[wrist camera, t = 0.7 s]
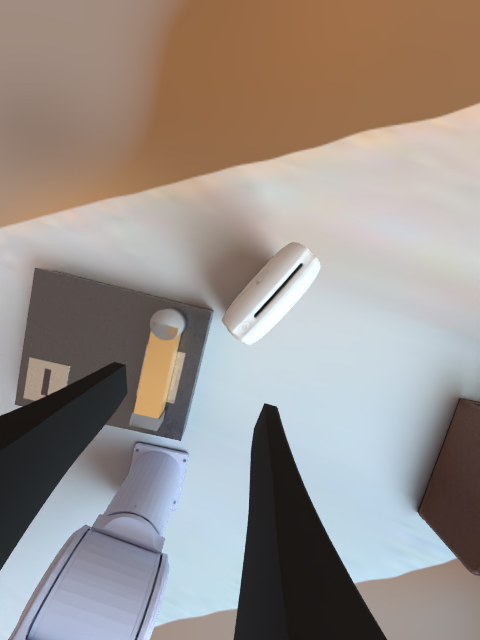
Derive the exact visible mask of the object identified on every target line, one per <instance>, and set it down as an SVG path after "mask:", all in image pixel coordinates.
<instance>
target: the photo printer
mask: <svg viewBox="0 0 480 640" xmlns="http://www.w3.org/2000/svg"><path fill="white" fill-rule="evenodd" d="M319 270H320V262H319V260H318V258H317V257H316V256H314V255H313V254H312V253H311V252H310V251H309V249H308V248H307V247H306V246H304V245H301V244H299V243H295V242H292V243H290V244H288V245H287V246H285V247H284V248H282V249H281V250H280V251H279V252H278V253H277V254H276V255H275V256H273V257H272V259H271V260H270V261H269V262H268V263H267V264H266V265H265V266H264V267H263V268H262V269H261V270H260V271H259V272H258V273H257V275H256V276H255V277H254V278H253V279H252V280H251V281H250V282H249V283H248V285H247V286H246V287H245V288H244V289H243V290H242V292H241V293H240V294H239V295H238V296H237V297H236V299H235V300H234V301H233V302H232V304H231V305H230V307H229V308H228V309H227V311H226V313H225V314H224V316H223V318H222V321H223V323H224V325H225V326H226V327H227V329H228V331H229V332H230V333H231V334H232V335H233V336H234V337H235V338H237V339H238V340H240V341H243V342H244V343H246V344H248V345H251V344H253V343H255V342H256V341H258V340H259V339H260V338H262V337H263V336H264V335H265V334H266V333H267V332H268V331H269V330H270V329H271V328H272V327H273V326H274V325H275V324H276V323H277V322H278V321H279V320H280V319H281V318H282V317H283V316H284V315H285V314H286V313H287V312H288V311H289V310H290V309H291V308H292V307H293V305H294V304H295V303H296V302H297V301H298V300H299V299H300V297H301V296H302V295H303V294H304V293H305V291H306V290H307V289H308V288H309V286H310V285H311V284H312V282H313V281H314V279H315V278H316V276H317V274H318V272H319Z"/></svg>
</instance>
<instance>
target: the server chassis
mask: <svg viewBox="0 0 480 640" xmlns="http://www.w3.org/2000/svg"><path fill="white" fill-rule="evenodd" d="M170 308H171V309H176V310H178V311H180V312H181V313H182V314H183V315H184V317H185V320H186V326H185V329H184V331H183V332H182V333H181V337H180V342H179V346H178V351H177V355H176V359H175V364H174V368H173V373H172V377H171V381H170V386H169V390H168V395H167V399H166V404H165V408H164V410H166V411H165V415H164V419H163V422H162V424H161V426H160V427H159V429H158V431H154V430H149V429H145V428H140V427H136V426H131V425H129V424H130V419H131V415H132V412H133V411H134V409H135V404H136V399H137V394H138V390H139V385H140V380H141V375H142V371H143V366H144V361H145V356H146V352H147V347H148V342H149V337H150V333H151V329H150V320H151V318H152V316H153V315H154V314H155V313H156V312H157V311H159V310H163V309H170ZM213 312H214V311H212V310H208V309H204V308H200V307H196V306H192V305H188V304H184V303H180V302H176V301H172V300H168V299H164V298H160V297H156V296H152V295H148V294H144V293H140V292H136V291H132V290H128V289H124V288H120V287H116V286H112V285H108V284H104V283H100V282H96V281H92V280H88V279H84V278H80V277H76V276H72V275H68V274H64V273H60V272H56V271H51V270H45V269H38V268H35V271H34V278H33V285H32V292H31V299H30V305H29V312H28V319H27V326H26V333H25V339H24V346H23V353H22V360H21V367H20V373H19V380H18V387H17V394H16V401H15V405H19V406H25V405H28V404H30V403H32V402H34V401H36V400H38V399H41V398H43V397H45V396H47V395H49V394H51V393H53V392H56V391H58V390H60V389H62V388H64V387H66V386H68V385H70V384H72V383H74V382H76V381H78V380H80V379H82V378H84V377H86V376H88V375H90V374H91V373H93V372H95V371H97V370H99V369H101V368H103V367H105V366H107V365H109V364H111V363H113V362H117V363H121V364H124V365H126V376H127V392H128V393H127V395H126V396H125V398H124V400H123V401H122V403H121V404H120V406H119V407H118V409H117V410H116V412H115V413H114V414H113V415H112V417H111V418H110V419H109V420H108V422H107V423H106V425H111V426H115V427H120V428H124V429H129V430H133V431H138V432H143V433H147V434H152V435H156V436H161V437H165V438H170V439H175V440H179V441H181V439H182V436H183V434H184V431H185V428H186V424H187V420H188V416H189V412H190V407H191V403H192V399H193V395H194V391H195V387H196V382H197V378H198V374H199V370H200V366H201V362H202V357H203V353H204V349H205V345H206V341H207V337H208V333H209V328H210V324H211V320H212V316H213Z"/></svg>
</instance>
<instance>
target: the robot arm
mask: <svg viewBox="0 0 480 640" xmlns="http://www.w3.org/2000/svg"><path fill="white" fill-rule="evenodd" d="M127 393H128V392H127V376H126V365H124V364H121V363H117V362H113V363H111V364H109V365H107V366H105V367H103V368H101V369H99V370H97V371H95V372H93V373H91V374H90V375H88V376H86V377H84V378H82V379H80V380H78V381H76V382H74V383H72V384H70V385H68V386H66V387H64V388H62V389H60V390H58V391H56V392H53V393H51V394H49V395H47V396H45V397H43V398H41V399H38V400H36V401H34V402H32V403H30V404H28V405H25V406H23V407H21V408H18V409H16V410H14V411H11V412H9V413H6V414H4V415H1V416H0V570H1V569H2V567H3V565H4V564H5V562H6V561H7V559H8V557H9V556H10V554H11V553H12V551H13V550H14V548H15V547H16V545H17V544H18V542H19V540H20V539H21V537H22V536H23V534H24V533H25V531H26V530H27V528H28V527H29V525H30V524H31V522H32V521H33V519H34V518H35V516H36V515H37V513H38V512H39V510H40V509H41V507H42V506H43V505H44V503H45V502H46V500H47V499H48V497H49V496H50V494H51V493H52V491H53V490H54V489H55V487H56V486H57V484H58V483H59V482H60V480H61V479H62V477H63V476H64V475H65V473H66V472H67V470H68V469H69V468H70V466H71V465H72V464H73V463H74V461H75V460H76V459H77V458H78V456H79V455H80V454H81V453H82V452H83V450H84V449H85V448H86V447H87V446H88V444H89V443H90V442H91V441H92V440H93V438H94V437H95V436H96V435H97V434H98V432H99V431H100V430H101V429H102V428H103V426H104V425H105V424H106V423H107V422H108V420H109V419H110V418H111V417H112V415H113V414H114V413H115V412H116V410H117V409H118V407H119V406H120V404H121V403H122V401H123V400H124V398H125V396H126V395H127ZM137 449H138V450H137ZM188 458H189V454H188V453H185V452H180V451H175V450H171V449H166V448H161V447H157V446H152V445H148V444H143V443H137V444H136V445H135V447H134V452H133V456H132V461H131V466H130V470H129V473H128V475H127V477H126V478H125V480H124V482H123V483H122V485H121V486H120V488H119V490H118V491H117V493H116V495H115V496H114V498H113V499H112V501H111V503H110V504H109V506H108V508H107V509H106V511H105V512H104V514H103V515H99V516H98V518H97V519H96V521H95V523H94V524H93V526H92V527H89V526H88V525H84V526H83V527H82V528H80V529H79V530H77V531H75V532H74V533H73V534H72V535H71V536H70V538H69V539H68V540H67V541H66V543H65V544H64V545H63V547H62V548H61V550H60V551H59V553H58V554H57V556H56V557H55V559H54V560H53V562H52V563H51V565H50V566H49V568H48V569H47V571H46V572H45V574H44V576H43V577H42V579H41V581H40V582H39V584H38V586H37V587H36V589H35V591H34V592H33V594H32V596H31V598H30V599H29V601H28V603H27V605H26V607H25V609H24V611H23V613H22V615H21V617H20V619H19V622H18V624H17V626H16V627H15V629H14V631H13V633H12V634H11V636H10V638H9V639H8V640H150V637H151V634H152V631H153V628H154V625H155V622H156V619H157V616H158V612H159V609H160V606H161V602H162V599H163V595H164V591H165V587H166V583H167V578H168V573H169V563H168V556H167V554H163V553H162V554H161V552H162V548H163V545H164V542H165V538H163V534H164V531H165V528H166V525H167V521H168V518H169V515H170V512H171V511H174V510H176V507H177V503H178V499H179V495H180V491H181V487H182V483H183V479H184V475H185V471H186V467H187V462H188ZM184 459H185V460H184ZM90 528H91V529H90ZM234 640H387V639H386V637H385V635H384V634H383V632H382V631H381V629H380V627H379V625H378V624H377V622H376V620H375V619H374V617H373V615H372V614H371V612H370V610H369V609H368V607H367V605H366V603H365V602H364V600H363V598H362V596H361V595H360V593H359V591H358V590H357V588H356V586H355V584H354V583H353V581H352V579H351V577H350V575H349V574H348V572H347V570H346V568H345V566H344V564H343V562H342V561H341V559H340V557H339V555H338V553H337V551H336V550H335V548H334V546H333V544H332V542H331V540H330V538H329V536H328V534H327V532H326V530H325V528H324V526H323V524H322V522H321V520H320V518H319V516H318V514H317V512H316V510H315V508H314V506H313V504H312V501H311V499H310V497H309V495H308V493H307V490H306V488H305V486H304V483H303V481H302V478H301V476H300V474H299V471H298V469H297V466H296V463H295V461H294V458H293V455H292V453H291V450H290V447H289V444H288V441H287V438H286V435H285V432H284V429H283V426H282V422H281V419H280V415H279V411H278V408H277V407H276V406H272V405H269V404H265V403H264V406H263V408H262V411H261V413H260V415H259V418H258V420H257V423H256V425H255V428H254V433H253V440H252V448H251V465H250V492H249V514H248V526H247V535H246V544H245V553H244V562H243V570H242V579H241V587H240V595H239V603H238V611H237V619H236V626H235V634H234Z"/></svg>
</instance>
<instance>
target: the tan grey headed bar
mask: <svg viewBox="0 0 480 640" xmlns="http://www.w3.org/2000/svg"><path fill="white" fill-rule="evenodd" d="M185 326H186V320H185V317H184V315H183V314H182V313H181V312H180V311H178V310H176V309H171V308H170V309H163V310H159V311H157V312H156V313H155V314H154V315H153V316H152V318H151V320H150V329H151V333H150V337H149V342H148V347H147V352H146V356H145V361H144V366H143V371H142V375H141V380H140V385H139V390H138V394H137V399H136V404H135V409H134V411H133V412H132V415H131V419H130V424H129V425H131V426H136V427H140V428H145V429H149V430H154V431H158V429H159V427H160V426H161V424H162V422H163V419H164V415H165V411H166V410H164V408H165V404H166V399H167V395H168V390H169V386H170V381H171V377H172V373H173V368H174V364H175V359H176V355H177V351H178V346H179V342H180V337H181V333H182V332H183V331H184V329H185Z"/></svg>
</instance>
